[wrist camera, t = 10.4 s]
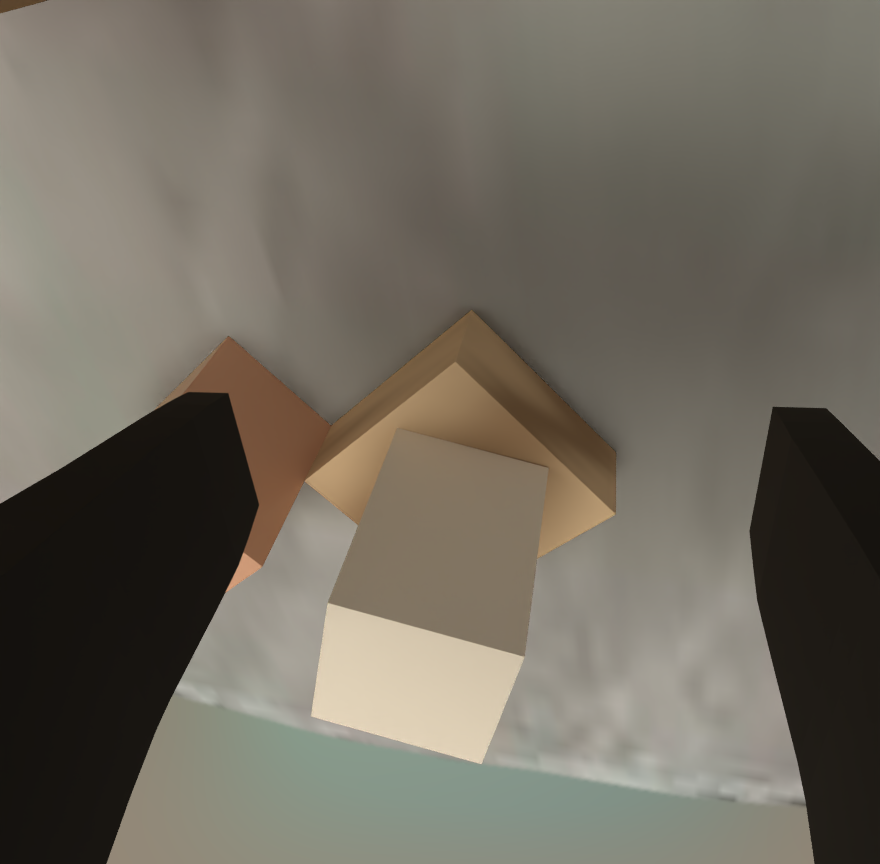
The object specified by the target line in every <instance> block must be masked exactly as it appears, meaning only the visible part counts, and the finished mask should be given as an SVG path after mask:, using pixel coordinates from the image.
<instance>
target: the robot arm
mask: <svg viewBox="0 0 880 864" xmlns="http://www.w3.org/2000/svg"><path fill="white" fill-rule="evenodd" d="M258 507H259V502H258V498H257V495H256V491H255V487H254V484H253V480H252V477H251V473H250V469H249V466H248V462H247V459H246V455H245V451H244V448H243V444H242V441H241V437H240V433H239V430H238V426H237V423H236V419H235V415H234V412H233V408H232V405H231V401H230V397H229V394H228V393H211V392H187V393H185V394H183V395H181V396H179V397H177V398H175V399H173V400H171V401H170V402H168V403H166V404H164V405H163V406H161V407H159V408H157V409H156V410H154V411H152V412H151V413H149V414H147V415H146V416H144V417H143V418H141V419H139V420H138V421H136V422H135V423H133V424H131V425H130V426H128V427H127V428H125V429H123V430H122V431H120V432H119V433H117V434H115V435H114V436H112V437H111V438H109V439H107V440H106V441H104V442H103V443H101V444H99V445H98V446H96V447H95V448H93V449H91V450H90V451H88V452H87V453H85V454H83V455H82V456H80V457H79V458H77V459H75V460H74V461H72V462H71V463H69V464H67V465H66V466H64V467H63V468H61V469H59V470H58V471H56V472H54V473H52V474H51V475H49V476H47V477H46V478H44V479H42V480H40V481H39V482H37V483H35V484H33V485H32V486H30V487H28V488H27V489H25V490H23V491H21V492H20V493H18V494H16V495H14V496H13V497H11V498H9V499H8V500H6V501H4V502H2V503H1V504H0V864H106V863H107V860H108V857H109V855H110V852H111V849H112V846H113V844H114V841H115V838H116V835H117V832H118V829H119V827H120V824H121V821H122V818H123V816H124V813H125V810H126V807H127V804H128V801H129V798H130V796H131V793H132V791H133V788H134V785H135V783H136V780H137V778H138V775H139V773H140V770H141V768H142V765H143V762H144V760H145V757H146V755H147V752H148V750H149V747H150V744H151V742H152V739H153V737H154V734H155V732H156V729H157V727H158V725H159V723H160V720H161V718H162V716H163V714H164V712H165V710H166V707H167V705H168V703H169V701H170V699H171V697H172V695H173V693H174V691H175V689H176V687H177V685H178V683H179V681H180V679H181V678H182V676H183V674H184V672H185V670H186V668H187V666H188V664H189V662H190V660H191V658H192V656H193V654H194V652H195V650H196V649H197V647H198V645H199V643H200V641H201V639H202V637H203V635H204V633H205V631H206V629H207V627H208V625H209V623H210V622H211V620H212V618H213V616H214V614H215V612H216V610H217V608H218V606H219V604H220V602H221V600H222V598H223V596H224V594H225V592H226V590H227V588H228V586H229V584H230V582H231V580H232V578H233V576H234V574H235V572H236V570H237V568H238V566H239V563H240V561H241V558H242V555H243V552H244V549H245V547H246V544H247V541H248V538H249V535H250V532H251V529H252V526H253V523H254V520H255V517H256V514H257V510H258ZM750 539H751V549H752V559H753V569H754V577H755V585H756V593H757V601H758V605H759V610H760V614H761V618H762V622H763V626H764V630H765V634H766V638H767V642H768V647H769V651H770V655H771V659H772V663H773V667H774V671H775V674H776V678H777V682H778V686H779V690H780V694H781V698H782V702H783V706H784V710H785V714H786V718H787V722H788V726H789V730H790V734H791V738H792V742H793V746H794V750H795V754H796V758H797V761H798V766H799V771H800V776H801V781H802V786H803V791H804V795H805V800H806V807H807V814H808V821H809V828H810V835H811V842H812V849H813V856H814V863H815V864H880V461H879V460H878V459H877V458H876V457H875V456H874V455H873V454H872V453H871V452H870V451H869V450H868V449H867V448H866V447H865V446H864V445H863V444H862V443H861V442H860V441H859V440H858V439H857V438H856V437H855V436H854V435H853V434H852V433H851V432H850V431H849V430H848V429H847V428H846V427H845V426H844V425H843V424H842V423H841V422H840V421H839V420H838V419H837V418H836V417H835V416H834V415H833V414H832V413H830V412H829V411H828V410H827V409H826V408H794V407H773V409H772V414H771V420H770V425H769V430H768V436H767V441H766V446H765V452H764V457H763V462H762V468H761V473H760V478H759V484H758V489H757V494H756V500H755V505H754V510H753V516H752V521H751V526H750Z"/></svg>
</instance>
